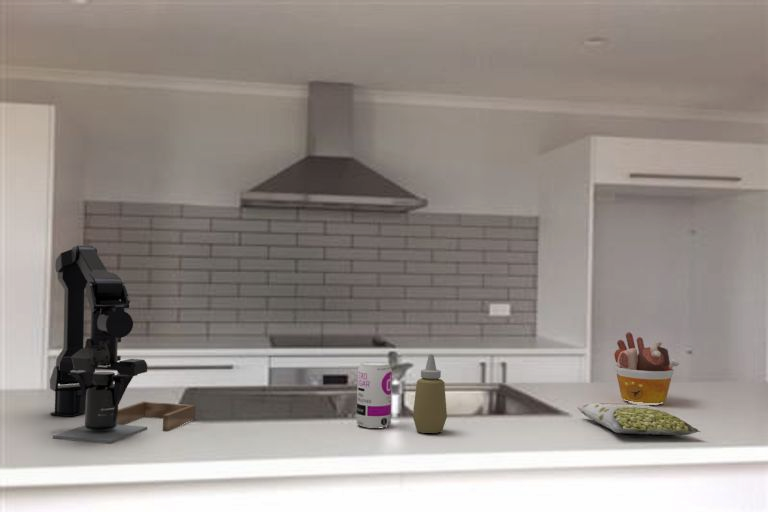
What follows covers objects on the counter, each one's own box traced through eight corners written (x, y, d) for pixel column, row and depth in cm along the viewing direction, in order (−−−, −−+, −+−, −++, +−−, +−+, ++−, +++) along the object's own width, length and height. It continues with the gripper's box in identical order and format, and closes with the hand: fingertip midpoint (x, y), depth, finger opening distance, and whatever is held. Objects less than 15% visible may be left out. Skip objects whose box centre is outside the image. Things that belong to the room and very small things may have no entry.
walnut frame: (112, 426, 170) (112, 411, 170) (143, 415, 183) (143, 401, 183) (167, 431, 167) (167, 415, 167) (195, 419, 179) (195, 405, 179)
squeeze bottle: (450, 430, 174) (452, 354, 175) (441, 437, 167) (443, 357, 167) (417, 426, 177) (419, 352, 177) (407, 433, 169) (409, 355, 170)
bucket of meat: (687, 408, 209) (688, 338, 209) (632, 409, 206) (633, 338, 207) (651, 396, 229) (652, 332, 229) (601, 396, 226) (602, 331, 227)
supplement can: (395, 424, 179) (397, 362, 179) (381, 431, 172) (383, 366, 172) (366, 420, 183) (367, 360, 183) (350, 427, 175) (352, 364, 175)
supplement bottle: (106, 431, 159) (108, 375, 159) (78, 429, 160) (79, 374, 160) (123, 424, 165) (125, 371, 166) (96, 422, 167) (98, 369, 167)
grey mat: (52, 438, 158) (52, 435, 158) (93, 425, 171) (93, 422, 171) (110, 443, 154) (110, 440, 154) (147, 429, 168) (147, 426, 168)
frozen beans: (614, 415, 166) (574, 395, 191) (613, 441, 166) (573, 418, 191) (702, 419, 168) (651, 398, 193) (700, 444, 168) (650, 421, 193)
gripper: (43, 334, 157) (40, 407, 157) (120, 339, 153) (118, 414, 153) (76, 330, 168) (74, 398, 168) (149, 334, 164) (147, 404, 164)
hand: (102, 404), depth 163 cm, fingers closed on supplement bottle, 7 cm apart
